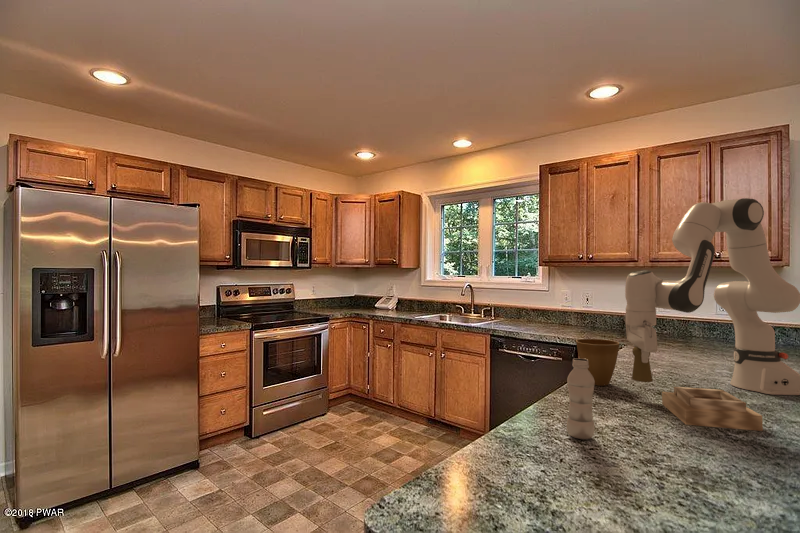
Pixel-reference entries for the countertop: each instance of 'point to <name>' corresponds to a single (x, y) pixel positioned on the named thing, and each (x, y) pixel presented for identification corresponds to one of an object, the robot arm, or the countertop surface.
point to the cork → (641, 367)
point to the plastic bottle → (580, 400)
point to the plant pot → (599, 358)
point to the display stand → (711, 409)
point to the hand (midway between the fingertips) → (641, 360)
